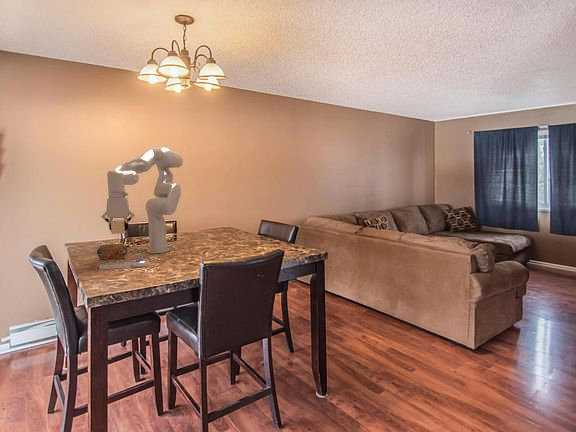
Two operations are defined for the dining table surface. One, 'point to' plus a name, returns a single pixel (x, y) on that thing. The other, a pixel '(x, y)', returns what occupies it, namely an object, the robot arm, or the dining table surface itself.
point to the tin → (112, 251)
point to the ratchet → (127, 263)
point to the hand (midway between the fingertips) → (119, 230)
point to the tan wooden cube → (118, 226)
